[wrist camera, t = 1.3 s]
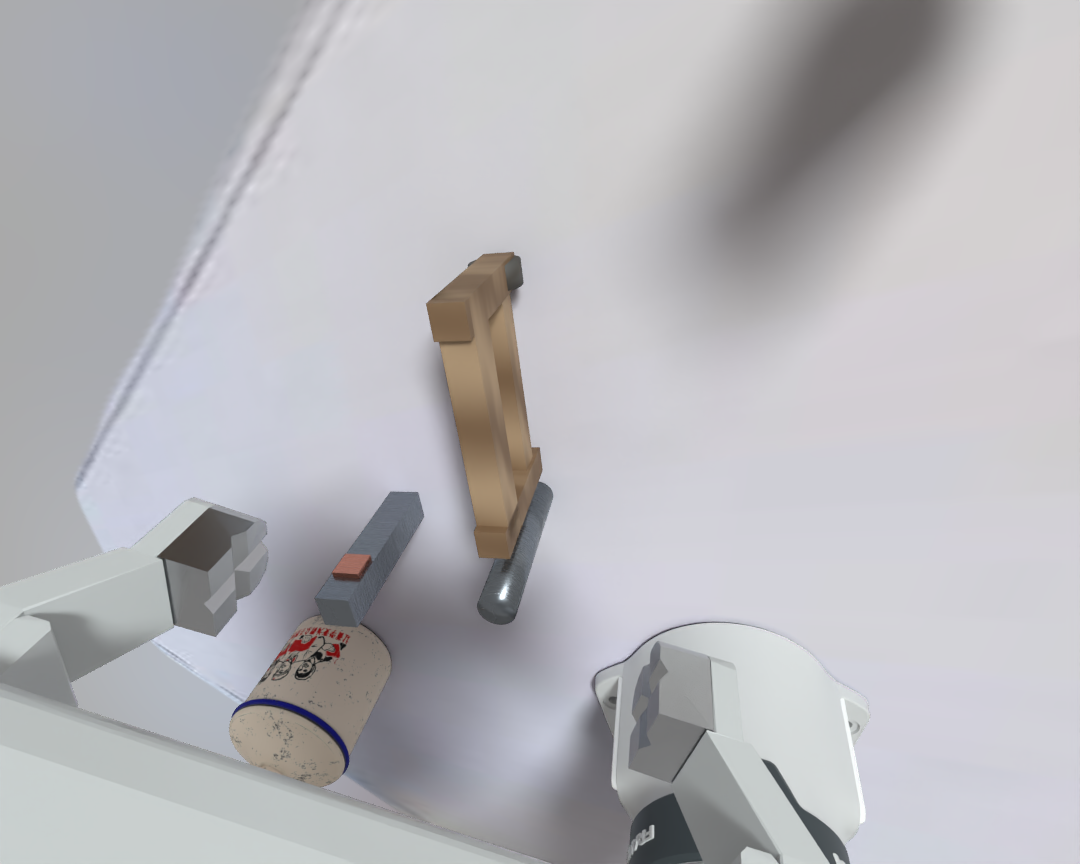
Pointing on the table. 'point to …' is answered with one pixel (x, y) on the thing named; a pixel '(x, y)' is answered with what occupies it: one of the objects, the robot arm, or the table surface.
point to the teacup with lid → (312, 702)
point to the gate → (488, 397)
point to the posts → (387, 540)
